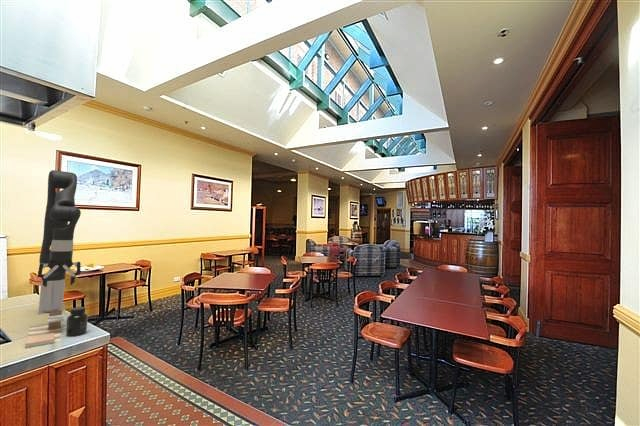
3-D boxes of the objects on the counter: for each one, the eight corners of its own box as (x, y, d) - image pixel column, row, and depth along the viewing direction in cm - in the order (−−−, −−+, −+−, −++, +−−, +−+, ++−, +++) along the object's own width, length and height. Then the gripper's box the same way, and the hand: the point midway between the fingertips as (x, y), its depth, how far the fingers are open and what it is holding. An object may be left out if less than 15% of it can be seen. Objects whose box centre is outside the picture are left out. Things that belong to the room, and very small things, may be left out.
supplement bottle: (84, 332, 126) (86, 305, 127) (88, 336, 122) (90, 308, 123) (63, 336, 121) (66, 308, 122) (67, 341, 117) (69, 311, 117)
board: (29, 329, 126) (29, 326, 126) (59, 324, 133) (60, 322, 133) (24, 350, 107) (25, 346, 107) (60, 343, 114) (60, 340, 114)
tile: (26, 337, 112) (25, 343, 106) (54, 332, 118) (54, 338, 112) (26, 341, 112) (25, 348, 106) (54, 336, 118) (53, 343, 112)
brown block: (46, 327, 126) (48, 311, 126) (61, 325, 130) (63, 310, 130) (46, 335, 118) (47, 318, 118) (62, 332, 121) (63, 316, 122)
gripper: (81, 248, 136) (78, 282, 135) (40, 249, 126) (36, 285, 125) (82, 250, 130) (79, 285, 130) (39, 251, 120) (35, 289, 120)
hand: (58, 285), depth 127 cm, fingers open, 8 cm apart
